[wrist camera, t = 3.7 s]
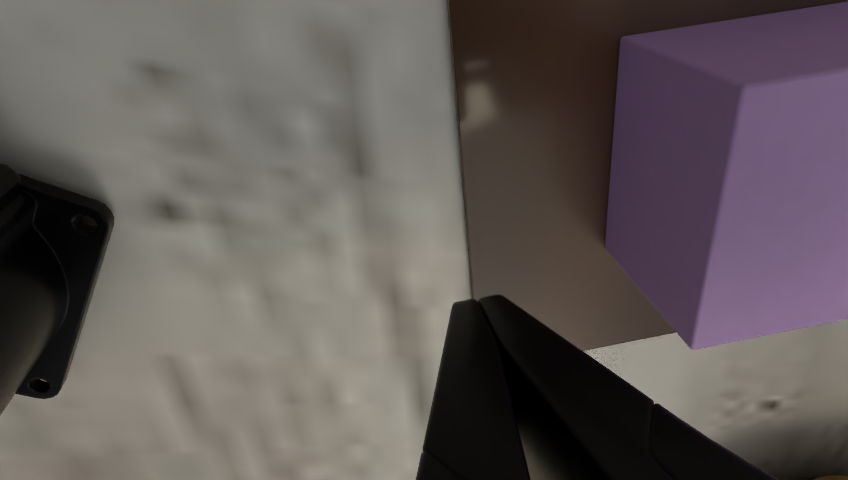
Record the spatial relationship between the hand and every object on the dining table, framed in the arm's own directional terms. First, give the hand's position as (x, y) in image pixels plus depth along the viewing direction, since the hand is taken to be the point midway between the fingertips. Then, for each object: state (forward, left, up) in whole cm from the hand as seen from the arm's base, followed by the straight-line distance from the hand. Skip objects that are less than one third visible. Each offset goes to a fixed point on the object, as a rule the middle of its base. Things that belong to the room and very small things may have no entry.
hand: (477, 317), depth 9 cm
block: (+5, -7, -6) cm, 10 cm away
